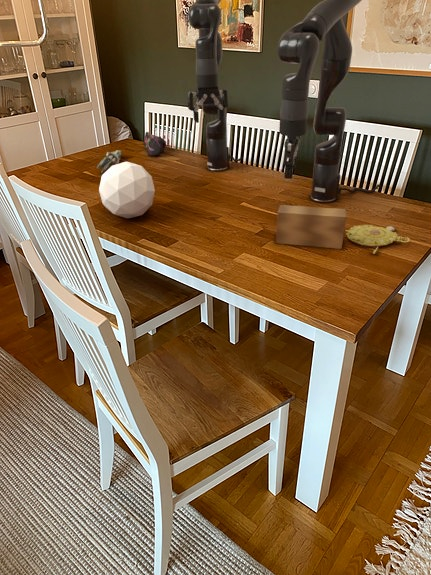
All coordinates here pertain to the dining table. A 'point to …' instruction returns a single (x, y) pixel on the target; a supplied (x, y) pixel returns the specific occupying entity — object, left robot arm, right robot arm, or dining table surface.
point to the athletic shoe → (154, 144)
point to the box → (310, 226)
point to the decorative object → (374, 235)
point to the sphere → (127, 190)
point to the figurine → (110, 160)
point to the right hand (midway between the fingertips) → (290, 173)
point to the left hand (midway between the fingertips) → (208, 121)
